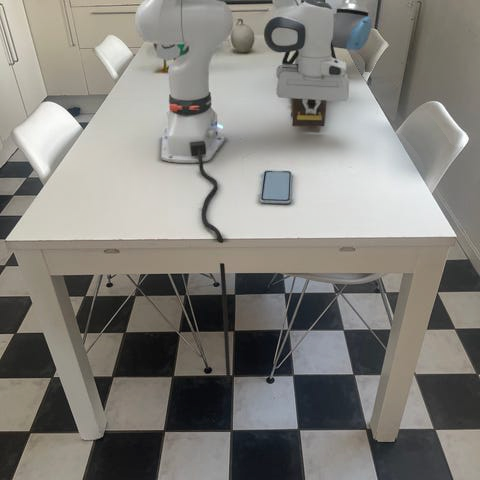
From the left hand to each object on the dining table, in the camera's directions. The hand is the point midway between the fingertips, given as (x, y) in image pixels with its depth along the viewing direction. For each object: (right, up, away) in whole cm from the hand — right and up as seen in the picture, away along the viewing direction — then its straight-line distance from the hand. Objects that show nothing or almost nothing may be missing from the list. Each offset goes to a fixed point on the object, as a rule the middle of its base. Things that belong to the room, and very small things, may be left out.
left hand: (310, 113), depth 149 cm
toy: (-48, +33, +63) cm, 86 cm away
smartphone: (-11, -24, -19) cm, 32 cm away
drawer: (+1, +1, +11) cm, 11 cm away
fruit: (-19, +49, +84) cm, 99 cm away
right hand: (+3, +16, +27) cm, 32 cm away
